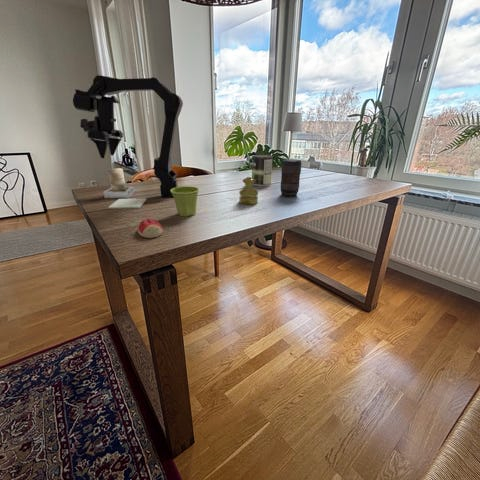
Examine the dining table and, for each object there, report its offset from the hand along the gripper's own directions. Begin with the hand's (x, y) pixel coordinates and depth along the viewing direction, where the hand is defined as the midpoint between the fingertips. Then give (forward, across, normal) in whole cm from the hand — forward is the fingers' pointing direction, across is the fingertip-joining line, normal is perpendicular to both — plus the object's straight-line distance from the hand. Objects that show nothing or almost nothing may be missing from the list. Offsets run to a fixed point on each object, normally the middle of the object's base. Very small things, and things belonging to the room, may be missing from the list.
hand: (107, 156), depth 105 cm
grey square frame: (+16, -2, +4) cm, 16 cm away
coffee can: (+6, -22, +68) cm, 72 cm away
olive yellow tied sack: (+8, +11, +59) cm, 60 cm away
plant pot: (+11, +25, +36) cm, 45 cm away
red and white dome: (+13, +41, +28) cm, 51 cm away
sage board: (+14, +12, +12) cm, 23 cm away
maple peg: (+16, -2, +4) cm, 16 cm away
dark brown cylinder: (+4, +1, +77) cm, 77 cm away
